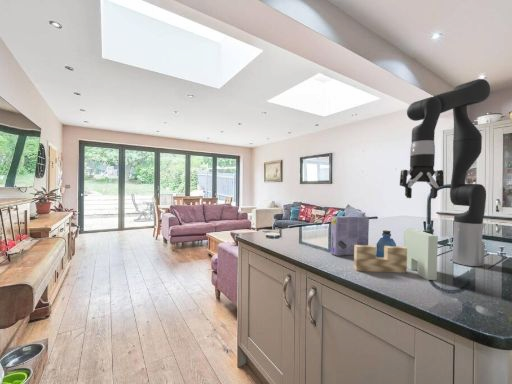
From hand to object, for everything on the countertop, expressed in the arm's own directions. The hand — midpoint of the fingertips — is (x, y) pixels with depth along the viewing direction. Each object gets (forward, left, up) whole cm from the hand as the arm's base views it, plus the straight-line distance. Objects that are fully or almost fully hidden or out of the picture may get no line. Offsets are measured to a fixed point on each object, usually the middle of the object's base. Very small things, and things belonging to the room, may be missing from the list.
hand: (420, 198), depth 93 cm
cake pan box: (+18, -23, -28) cm, 40 cm away
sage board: (0, 0, -27) cm, 27 cm away
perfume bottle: (+4, -18, -28) cm, 33 cm away
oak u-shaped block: (+14, 0, -27) cm, 31 cm away
